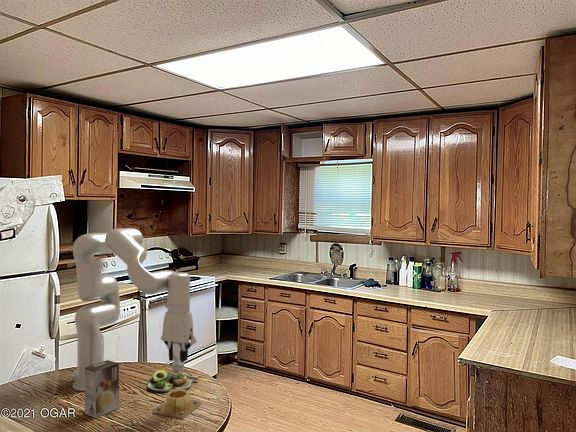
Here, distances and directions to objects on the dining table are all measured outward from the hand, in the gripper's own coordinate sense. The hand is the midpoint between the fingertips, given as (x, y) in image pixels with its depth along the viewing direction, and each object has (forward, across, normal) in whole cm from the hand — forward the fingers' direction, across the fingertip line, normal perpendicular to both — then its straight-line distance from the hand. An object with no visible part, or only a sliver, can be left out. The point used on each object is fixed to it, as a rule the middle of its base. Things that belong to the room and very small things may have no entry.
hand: (178, 359), depth 152 cm
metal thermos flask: (+4, 0, 0) cm, 4 cm away
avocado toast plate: (+18, -15, +17) cm, 29 cm away
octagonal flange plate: (+17, 0, 0) cm, 17 cm away
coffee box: (+17, -23, -11) cm, 31 cm away
